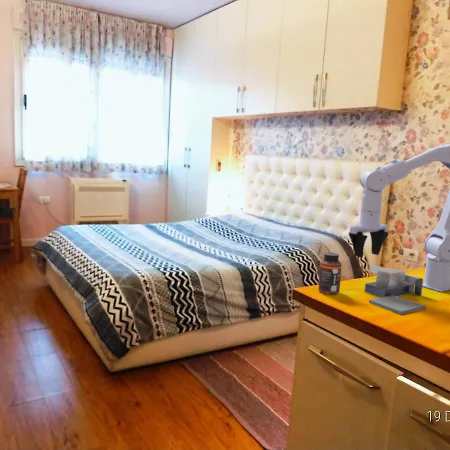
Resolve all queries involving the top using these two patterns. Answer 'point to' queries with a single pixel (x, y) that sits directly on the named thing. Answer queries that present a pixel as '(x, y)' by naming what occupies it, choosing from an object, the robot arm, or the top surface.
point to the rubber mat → (397, 304)
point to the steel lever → (408, 278)
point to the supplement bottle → (330, 274)
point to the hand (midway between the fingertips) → (366, 255)
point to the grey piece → (389, 289)
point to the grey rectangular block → (390, 277)
